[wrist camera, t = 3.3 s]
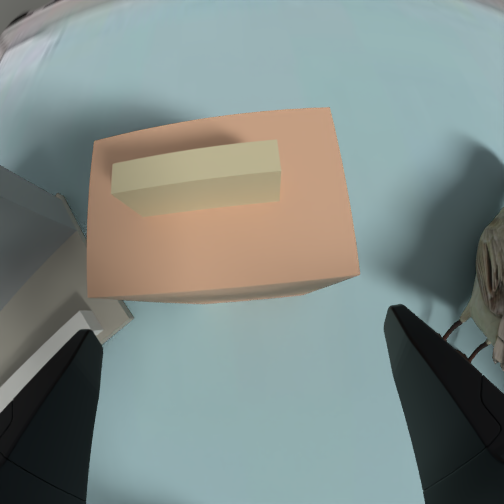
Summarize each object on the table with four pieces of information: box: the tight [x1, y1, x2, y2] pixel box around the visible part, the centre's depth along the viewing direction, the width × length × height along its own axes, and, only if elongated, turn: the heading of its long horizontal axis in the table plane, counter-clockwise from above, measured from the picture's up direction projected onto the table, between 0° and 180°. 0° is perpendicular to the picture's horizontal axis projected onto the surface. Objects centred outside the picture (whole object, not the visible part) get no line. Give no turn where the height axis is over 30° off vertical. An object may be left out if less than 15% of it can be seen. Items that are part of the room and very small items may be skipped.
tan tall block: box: [87, 107, 360, 304], centre depth 13 cm, size 4×6×15 cm, turn 95°
